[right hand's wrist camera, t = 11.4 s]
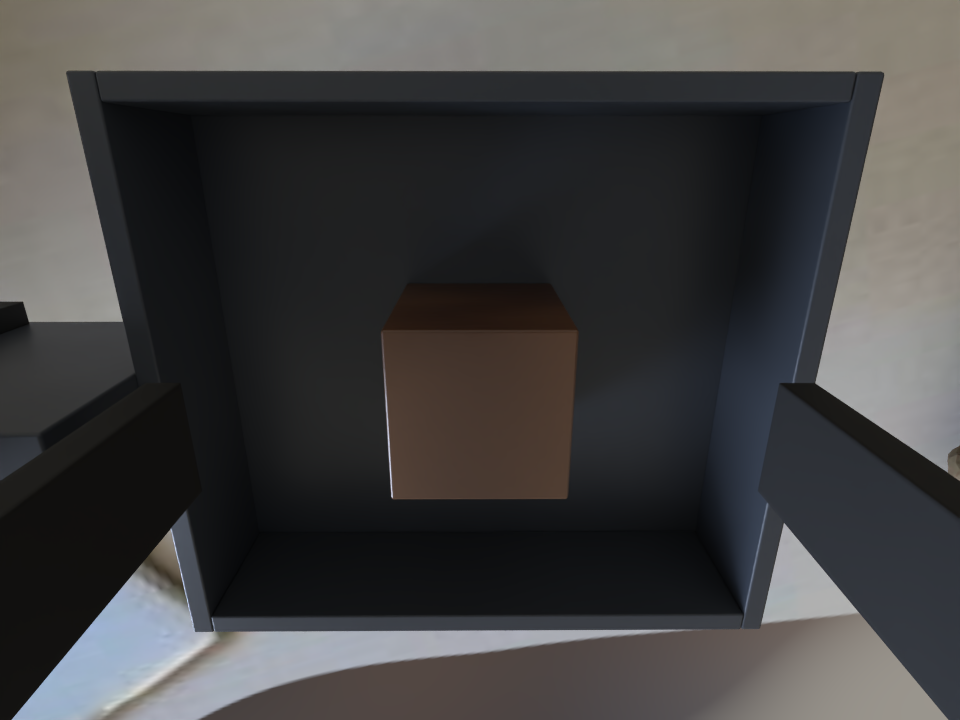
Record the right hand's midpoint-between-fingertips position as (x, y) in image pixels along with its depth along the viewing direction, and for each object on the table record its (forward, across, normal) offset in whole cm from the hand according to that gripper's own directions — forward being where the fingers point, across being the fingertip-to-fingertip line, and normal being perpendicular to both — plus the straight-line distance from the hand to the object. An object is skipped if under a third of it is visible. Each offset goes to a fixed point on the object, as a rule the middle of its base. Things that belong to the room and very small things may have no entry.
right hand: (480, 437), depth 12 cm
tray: (+7, +5, 0) cm, 8 cm away
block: (+6, 0, 0) cm, 6 cm away
